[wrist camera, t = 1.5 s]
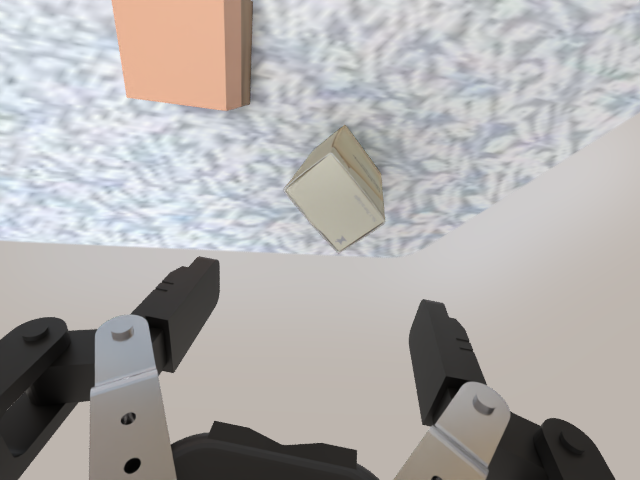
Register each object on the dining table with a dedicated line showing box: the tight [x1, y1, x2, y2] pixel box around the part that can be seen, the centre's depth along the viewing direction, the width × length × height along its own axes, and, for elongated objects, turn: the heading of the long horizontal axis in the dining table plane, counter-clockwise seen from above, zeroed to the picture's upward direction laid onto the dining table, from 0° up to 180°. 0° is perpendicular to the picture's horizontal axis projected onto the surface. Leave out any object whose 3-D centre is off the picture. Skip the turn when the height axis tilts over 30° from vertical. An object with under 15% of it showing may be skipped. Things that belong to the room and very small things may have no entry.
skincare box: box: [284, 125, 385, 254], centre depth 27 cm, size 6×4×12 cm
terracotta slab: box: [112, 0, 241, 111], centre depth 25 cm, size 8×8×4 cm
